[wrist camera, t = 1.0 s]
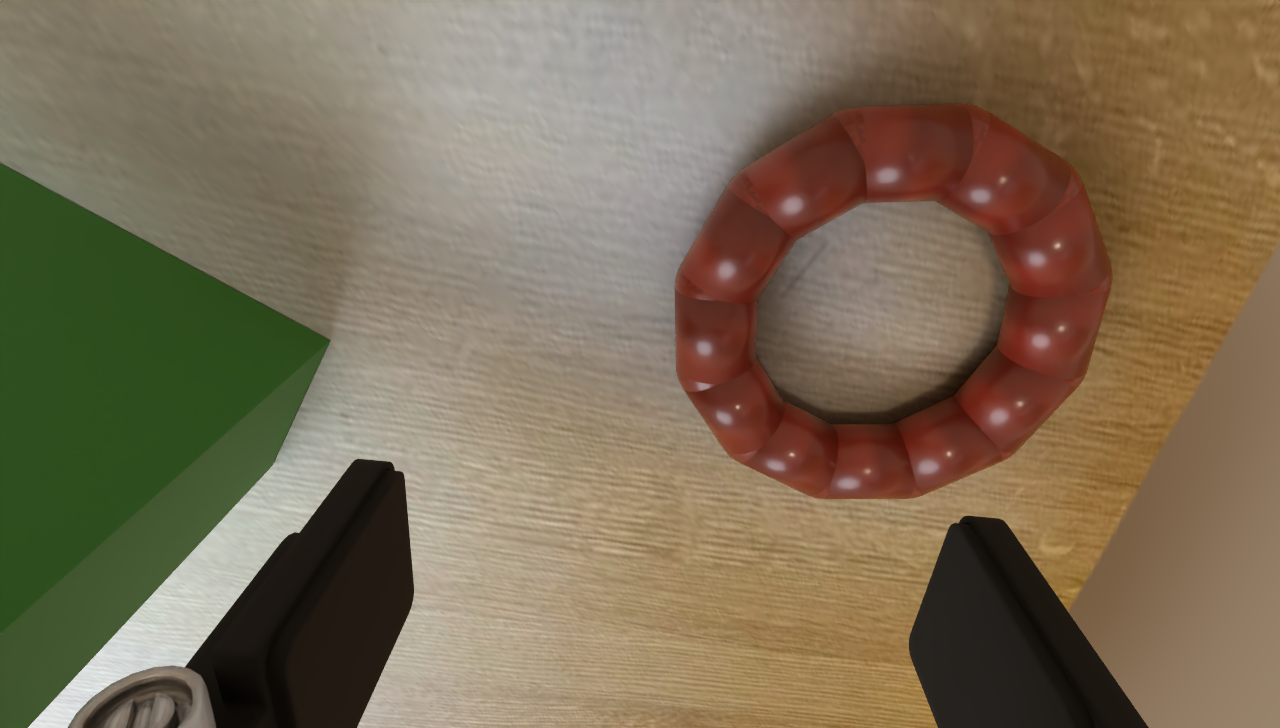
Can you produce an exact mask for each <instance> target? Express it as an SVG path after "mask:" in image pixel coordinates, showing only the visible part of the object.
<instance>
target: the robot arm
mask: <svg viewBox="0 0 1280 728" xmlns="http://www.w3.org/2000/svg"><path fill="white" fill-rule="evenodd" d="M413 596H414V584H413V572H412V560H411V548H410V537H409V525H408V513H407V502H406V490H405V479H404V474H403V472H401V471H395V469H394V466H393V464H392V463H391V462H386V461H375V460H364V459H357V460H355V461H354V462H353V463H352V464H351V465H350V466H349V468H348V469H347V470H346V472H345V473H344V474H343V476H342V477H341V478H340V480H339V481H338V482H337V484H336V485H335V486H334V488H333V489H332V490H331V492H330V493H329V494H328V496H327V497H326V498H325V500H324V501H323V502H322V504H321V505H320V506H319V508H318V509H317V510H316V512H315V513H314V514H313V516H312V517H311V518H310V520H309V521H308V522H307V524H306V525H305V526H304V528H303V529H302V530H301V532H300V533H293V534H290V535H288V536H287V537H286V538H285V539H284V540H283V541H282V542H281V544H280V545H279V546H278V547H277V549H276V550H275V551H274V553H273V554H272V555H271V556H270V558H269V559H268V560H267V562H266V563H265V564H264V566H263V567H262V568H261V569H260V571H259V572H258V573H257V575H256V576H255V577H254V578H253V580H252V581H251V582H250V584H249V585H248V586H247V588H246V589H245V590H244V591H243V593H242V594H241V595H240V597H239V598H238V599H237V600H236V602H235V603H234V604H233V606H232V607H231V608H230V609H229V611H228V612H227V613H226V615H225V616H224V617H223V619H222V620H221V621H220V622H219V624H218V625H217V626H216V628H215V629H214V630H213V631H212V633H211V634H210V635H209V637H208V638H207V639H206V641H205V642H204V643H203V644H202V646H201V647H200V648H199V650H198V651H197V652H196V653H195V655H194V656H193V657H192V659H191V660H190V661H189V662H188V664H187V665H186V666H185V668H184V667H178V666H164V667H154V668H150V669H147V670H143V671H140V672H137V673H133V674H131V675H129V676H127V677H125V678H123V679H121V680H119V681H117V682H115V683H112V684H111V685H109V686H108V687H107V688H105V689H104V690H102V691H101V692H99V693H98V694H97V695H95V696H94V697H92V698H91V699H90V700H89V701H88V702H87V703H86V704H85V705H84V706H83V707H82V708H81V709H80V710H79V711H78V712H77V713H76V715H75V716H74V718H73V720H72V721H71V723H70V725H69V726H68V728H357V726H358V724H359V722H360V719H361V717H362V715H363V713H364V711H365V708H366V706H367V704H368V702H369V700H370V697H371V695H372V693H373V691H374V689H375V687H376V684H377V682H378V680H379V678H380V676H381V673H382V671H383V669H384V667H385V665H386V662H387V660H388V658H389V656H390V654H391V651H392V649H393V647H394V645H395V643H396V640H397V638H398V636H399V634H400V632H401V629H402V627H403V625H404V623H405V621H406V618H407V616H408V614H409V612H410V609H411V606H412V602H413ZM909 651H910V656H911V659H912V662H913V665H914V667H915V670H916V672H917V675H918V677H919V680H920V682H921V685H922V688H923V690H924V693H925V695H926V698H927V700H928V703H929V705H930V708H931V711H932V713H933V716H934V718H935V721H936V723H937V726H938V728H1148V726H1147V725H1146V723H1145V722H1144V720H1143V719H1142V718H1141V716H1140V715H1139V713H1138V712H1137V710H1136V709H1135V708H1134V706H1133V705H1132V703H1131V702H1130V700H1129V699H1128V697H1127V696H1126V695H1125V693H1124V692H1123V690H1122V689H1121V687H1120V686H1119V685H1118V683H1117V682H1116V680H1115V679H1114V677H1113V676H1112V675H1111V673H1110V672H1109V670H1108V669H1107V667H1106V666H1105V664H1104V663H1103V662H1102V661H1101V659H1100V658H1099V656H1098V654H1097V653H1096V652H1095V650H1094V649H1093V647H1092V646H1091V644H1090V643H1089V641H1088V640H1087V639H1086V637H1085V636H1084V634H1083V633H1082V631H1081V630H1080V629H1079V627H1078V626H1077V624H1076V623H1075V621H1074V620H1073V618H1072V617H1071V616H1070V614H1069V613H1068V611H1067V610H1066V608H1065V607H1064V606H1063V604H1062V603H1061V601H1060V600H1059V598H1058V597H1057V596H1056V594H1055V593H1054V591H1053V590H1052V588H1051V587H1050V585H1049V584H1048V583H1047V581H1046V580H1045V578H1044V577H1043V575H1042V574H1041V573H1040V571H1039V570H1038V568H1037V567H1036V565H1035V564H1034V562H1033V561H1032V560H1031V558H1030V557H1029V555H1028V554H1027V552H1026V551H1025V550H1024V548H1023V547H1022V545H1021V544H1020V542H1019V541H1018V540H1017V538H1016V537H1015V535H1014V534H1013V532H1012V531H1011V529H1010V528H1009V527H1008V525H1007V524H1006V523H1005V522H1004V521H1003V520H1001V519H997V518H986V517H976V516H964V517H963V518H962V519H961V520H960V522H959V524H958V523H954V524H952V525H951V526H950V527H949V529H948V532H947V535H946V537H945V540H944V543H943V546H942V548H941V551H940V554H939V557H938V559H937V562H936V565H935V568H934V570H933V573H932V576H931V579H930V581H929V584H928V587H927V590H926V593H925V595H924V598H923V601H922V604H921V606H920V609H919V612H918V615H917V617H916V620H915V623H914V626H913V628H912V631H911V634H910V638H909Z"/></svg>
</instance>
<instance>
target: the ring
mask: <svg viewBox="0 0 1280 728" xmlns="http://www.w3.org/2000/svg"><path fill="white" fill-rule="evenodd" d="M906 201H936V202H938V203H940V204H942V205H943V206H945V207H947V208H948V209H950V210H952V211H953V212H955V213H957V214H958V215H960V216H962V217H963V218H965V219H967V220H969V221H970V222H972V223H974V224H975V225H977V226H979V227H980V228H982V229H984V230H985V231H987V232H988V233H989V236H990V238H991V241H992V243H993V245H994V248H995V250H996V253H997V255H998V257H999V260H1000V262H1001V265H1002V267H1003V270H1004V272H1005V274H1006V277H1007V279H1008V282H1009V284H1010V287H1009V291H1008V296H1007V301H1006V305H1005V310H1004V314H1003V319H1002V324H1001V328H1000V333H999V338H998V342H997V346H996V347H995V348H994V349H993V350H992V351H991V353H990V354H989V355H988V356H987V357H986V358H985V360H984V361H983V362H982V363H981V364H980V365H979V366H978V368H977V369H976V370H975V371H974V372H973V373H972V375H971V376H970V377H969V378H968V379H967V380H966V382H965V383H964V384H963V385H962V386H961V387H960V389H959V390H958V391H957V392H956V393H955V394H954V396H952V397H949V398H947V399H945V400H943V401H941V402H939V403H936V404H934V405H932V406H930V407H928V408H926V409H923V410H921V411H919V412H917V413H915V414H913V415H911V416H908V417H906V418H904V419H902V420H900V421H898V422H895V423H893V424H829V423H827V422H825V421H823V420H821V419H819V418H818V417H816V416H814V415H812V414H810V413H808V412H806V411H804V410H802V409H800V408H798V407H796V406H794V405H792V404H790V403H788V402H786V401H784V400H782V398H781V397H780V395H779V393H778V392H777V390H776V388H775V387H774V385H773V383H772V382H771V380H770V379H769V377H768V375H767V374H766V372H765V370H764V369H763V367H762V365H761V364H760V362H759V360H758V359H757V357H756V339H757V316H758V298H759V297H760V295H761V293H762V292H763V290H764V289H765V287H766V286H767V284H768V283H769V281H770V280H771V278H772V277H773V275H774V274H775V272H776V271H777V269H778V267H779V266H780V264H781V263H782V261H783V260H784V258H785V257H786V255H787V254H788V252H789V251H790V249H791V248H792V246H793V245H794V243H795V241H796V240H798V239H799V238H801V237H803V236H805V235H806V234H808V233H810V232H812V231H814V230H815V229H817V228H819V227H821V226H822V225H824V224H826V223H828V222H830V221H831V220H833V219H835V218H837V217H838V216H840V215H842V214H844V213H846V212H847V211H849V210H851V209H853V208H854V207H856V206H858V205H860V204H862V203H869V202H906ZM1112 279H1113V274H1112V267H1111V263H1110V260H1109V257H1108V254H1107V251H1106V248H1105V245H1104V243H1103V240H1102V237H1101V234H1100V231H1099V228H1098V225H1097V222H1096V219H1095V216H1094V214H1093V211H1092V208H1091V205H1090V202H1089V199H1088V196H1087V193H1086V190H1085V187H1084V184H1083V182H1082V180H1081V177H1080V175H1079V174H1078V172H1077V171H1076V170H1075V168H1074V167H1073V166H1072V165H1071V164H1070V163H1068V162H1067V161H1066V160H1064V159H1062V158H1061V157H1059V156H1058V155H1056V154H1055V153H1053V152H1051V151H1050V150H1048V149H1047V148H1045V147H1043V146H1042V145H1040V144H1039V143H1037V142H1036V141H1034V140H1032V139H1031V138H1029V137H1028V136H1026V135H1024V134H1023V133H1021V132H1020V131H1018V130H1017V129H1015V128H1013V127H1012V126H1010V125H1009V124H1007V123H1005V122H1004V121H1002V120H1001V119H999V118H998V117H996V116H994V115H993V114H991V113H990V112H988V111H986V110H984V109H982V108H980V107H978V106H975V105H971V104H931V105H902V106H874V107H854V108H847V109H843V110H840V111H838V112H836V113H834V114H832V115H830V116H829V117H827V118H825V119H824V120H822V121H820V122H819V123H817V124H816V125H814V126H812V127H811V128H809V129H807V130H806V131H804V132H802V133H801V134H799V135H797V136H796V137H794V138H793V139H791V140H789V141H788V142H786V143H784V144H783V145H781V146H779V147H778V148H776V149H774V150H773V151H771V152H769V153H768V154H766V155H765V156H763V157H761V158H760V159H758V160H756V161H755V162H753V163H751V164H750V165H748V166H746V167H745V168H743V169H742V170H740V171H739V172H738V173H736V174H735V176H734V177H732V179H731V180H730V181H729V183H728V184H727V186H726V188H725V189H724V191H723V193H722V195H721V196H720V198H719V200H718V201H717V203H716V205H715V207H714V208H713V210H712V212H711V214H710V215H709V217H708V219H707V220H706V222H705V224H704V226H703V227H702V229H701V231H700V232H699V234H698V236H697V238H696V239H695V241H694V243H693V244H692V246H691V248H690V250H689V251H688V253H687V255H686V256H685V258H684V260H683V262H682V263H681V265H680V267H679V269H678V272H677V276H676V279H675V333H676V372H677V376H678V379H679V382H680V384H681V386H682V387H683V389H684V391H685V392H686V394H687V395H688V397H689V398H690V400H691V401H692V403H693V404H694V406H695V407H696V409H697V410H698V411H699V413H700V414H701V416H702V417H703V419H704V420H705V422H706V423H707V425H708V426H709V428H710V429H711V431H712V432H713V434H714V435H715V437H716V438H717V440H718V441H719V443H720V444H721V446H722V447H723V449H724V450H725V451H726V453H727V454H728V455H729V456H730V457H732V458H733V459H734V460H736V461H738V462H739V463H741V464H744V465H746V466H748V467H750V468H752V469H754V470H756V471H758V472H760V473H762V474H764V475H766V476H769V477H771V478H773V479H775V480H777V481H779V482H781V483H783V484H785V485H787V486H789V487H791V488H794V489H796V490H798V491H800V492H802V493H804V494H806V495H808V496H811V497H814V498H819V499H909V498H916V497H919V496H922V495H924V494H927V493H929V492H931V491H934V490H936V489H939V488H941V487H943V486H946V485H948V484H950V483H953V482H955V481H957V480H960V479H962V478H964V477H967V476H969V475H971V474H974V473H976V472H978V471H981V470H983V469H985V468H988V467H990V466H992V465H995V464H997V463H999V462H1002V461H1004V460H1006V459H1008V458H1009V457H1011V456H1012V455H1013V454H1014V453H1015V452H1016V451H1017V450H1018V449H1019V448H1020V447H1021V446H1022V445H1023V444H1024V443H1025V442H1026V441H1027V440H1028V439H1029V438H1030V437H1031V436H1032V435H1033V433H1034V432H1035V431H1036V430H1037V429H1038V428H1039V427H1040V426H1041V425H1042V424H1043V423H1044V422H1045V421H1046V420H1047V419H1048V418H1049V417H1050V416H1051V415H1052V413H1053V412H1054V411H1055V410H1056V409H1057V408H1058V407H1059V406H1060V405H1061V404H1062V403H1063V402H1064V401H1065V400H1066V399H1067V398H1068V397H1069V396H1070V395H1071V393H1072V392H1073V391H1074V390H1075V389H1076V388H1077V387H1078V386H1079V385H1080V383H1081V382H1082V380H1083V379H1084V377H1085V375H1086V372H1087V369H1088V365H1089V362H1090V358H1091V355H1092V351H1093V348H1094V344H1095V341H1096V337H1097V334H1098V330H1099V327H1100V323H1101V320H1102V316H1103V313H1104V309H1105V306H1106V302H1107V299H1108V295H1109V292H1110V288H1111V285H1112Z"/></svg>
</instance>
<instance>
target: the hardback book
mask: <svg viewBox="0 0 1280 728" xmlns="http://www.w3.org/2000/svg"><path fill="white" fill-rule="evenodd" d="M329 342H330V340H328V339H326V338H324V337H323V336H321V335H319V334H317V333H315V332H313V331H311V330H310V329H308V328H306V327H304V326H302V325H300V324H298V323H296V322H295V321H293V320H291V319H289V318H287V317H285V316H283V315H282V314H280V313H278V312H276V311H274V310H272V309H270V308H269V307H267V306H265V305H263V304H261V303H259V302H257V301H256V300H254V299H252V298H250V297H248V296H246V295H244V294H242V293H241V292H239V291H237V290H235V289H233V288H231V287H229V286H228V285H226V284H224V283H222V282H220V281H218V280H216V279H215V278H213V277H211V276H209V275H207V274H205V273H203V272H202V271H200V270H198V269H196V268H194V267H192V266H190V265H189V264H187V263H185V262H183V261H181V260H179V259H177V258H175V257H174V256H172V255H170V254H168V253H166V252H164V251H162V250H161V249H159V248H157V247H155V246H153V245H151V244H149V243H148V242H146V241H144V240H142V239H140V238H138V237H136V236H135V235H133V234H131V233H129V232H127V231H125V230H123V229H121V228H120V227H118V226H116V225H114V224H112V223H110V222H108V221H107V220H105V219H103V218H101V217H99V216H97V215H95V214H94V213H92V212H90V211H88V210H86V209H84V208H82V207H81V206H79V205H77V204H75V203H73V202H71V201H69V200H68V199H66V198H64V197H62V196H60V195H58V194H56V193H54V192H53V191H51V190H49V189H47V188H45V187H43V186H41V185H40V184H38V183H36V182H34V181H32V180H30V179H28V178H27V177H25V176H23V175H21V174H19V173H17V172H15V171H14V170H12V169H10V168H8V167H6V166H4V165H2V164H0V728H28V727H29V726H30V724H31V723H32V722H33V721H34V720H35V719H36V718H37V717H38V716H39V715H40V714H41V713H42V712H43V711H44V710H45V708H46V707H47V706H48V705H49V704H50V703H51V702H52V701H53V700H54V699H55V698H56V697H57V696H58V695H59V693H60V692H61V691H62V690H63V689H64V688H65V687H66V686H67V685H68V684H69V683H70V682H71V681H72V680H73V678H74V677H75V676H76V675H77V674H78V673H79V672H80V671H81V670H82V669H83V668H84V667H85V666H86V665H87V663H88V662H89V661H90V660H91V659H92V658H93V657H94V656H95V655H96V654H97V653H98V652H99V651H100V650H101V648H102V647H103V646H104V645H105V644H106V643H107V642H108V641H109V640H110V639H111V638H112V637H113V636H114V635H115V633H116V632H117V631H118V630H119V629H120V628H121V627H122V626H123V625H124V624H125V623H126V622H127V621H128V620H129V618H130V617H131V616H132V615H133V614H134V613H135V612H136V611H137V610H138V609H139V608H140V607H141V606H142V605H143V603H144V602H145V601H146V600H147V599H148V598H149V597H150V596H151V595H152V594H153V593H154V592H155V591H156V590H157V588H158V587H159V586H160V585H161V584H162V583H163V582H164V581H165V580H166V579H167V578H168V577H169V576H170V575H171V573H172V572H173V571H174V570H175V569H176V568H177V567H178V566H179V565H180V564H181V563H182V562H183V561H184V560H185V558H186V557H187V556H188V555H189V554H190V553H191V552H192V551H193V550H194V549H195V548H196V547H197V546H198V545H199V543H200V542H201V541H202V540H203V539H204V538H205V537H206V536H207V535H208V534H209V533H210V532H211V531H212V530H213V528H214V527H215V526H216V525H217V524H218V523H219V522H220V521H221V520H222V519H223V518H224V517H225V516H226V515H227V514H228V512H229V511H230V510H231V509H232V508H233V507H234V506H235V505H236V504H237V503H238V502H239V501H240V500H241V499H242V497H243V496H244V495H245V494H246V493H247V492H248V491H249V490H250V489H251V488H252V487H253V486H254V485H255V484H256V482H257V481H258V480H259V479H260V478H261V477H262V476H263V475H264V474H265V473H266V472H267V471H268V470H269V469H270V467H271V466H272V465H273V463H274V461H275V459H276V457H277V454H278V452H279V450H280V448H281V446H282V444H283V441H284V439H285V437H286V435H287V433H288V431H289V429H290V426H291V424H292V422H293V420H294V418H295V416H296V413H297V411H298V409H299V407H300V405H301V403H302V401H303V398H304V396H305V394H306V392H307V390H308V388H309V385H310V383H311V381H312V379H313V377H314V375H315V373H316V370H317V368H318V366H319V364H320V362H321V360H322V357H323V355H324V353H325V351H326V349H327V347H328V345H329Z"/></svg>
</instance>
